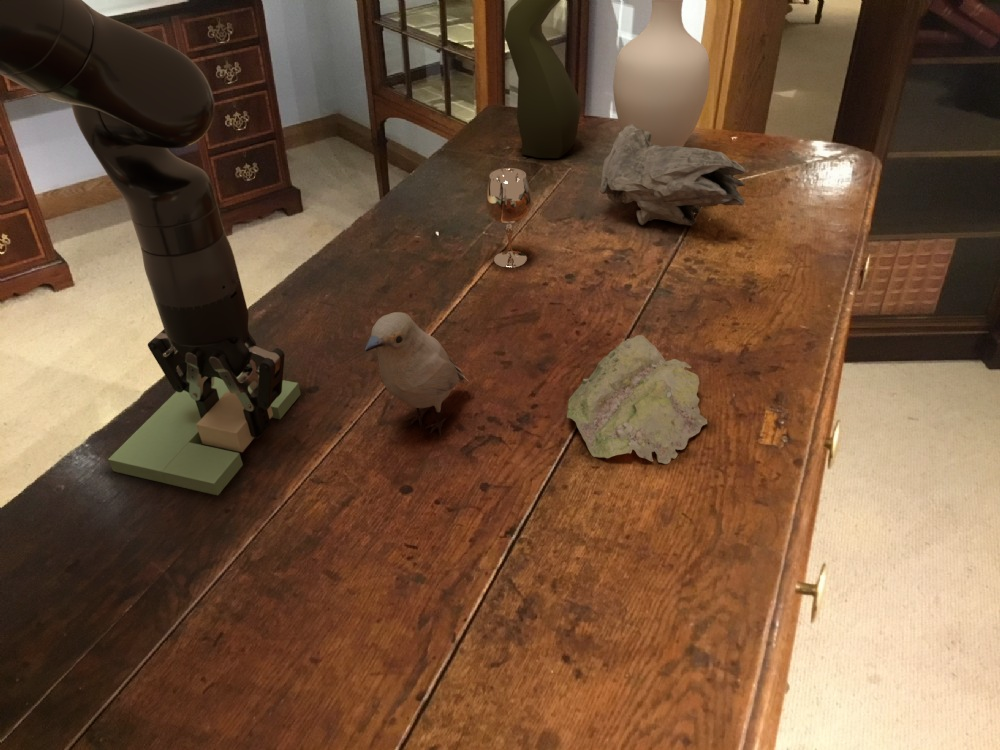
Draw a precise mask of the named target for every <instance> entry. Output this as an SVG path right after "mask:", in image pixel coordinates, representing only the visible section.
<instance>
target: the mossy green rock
mask: <svg viewBox="0 0 1000 750" xmlns="http://www.w3.org/2000/svg"><path fill="white" fill-rule="evenodd" d="M685 368H687V369H692V366H691V365H690V364H688V363H687V362H685V361H681V360H679V359H676V358H673V359H670V360H666V359H665V358H664V356H663V355H662V353H661V352H660V351H659V350H658V348H657V347H656V346H655V345H654V344H653V343H652V342H650V341H649V340H648V338H647V337H645V335H643V334H638V335H635V336H633V337H630V338H626V340H624V341H622V342H620V343H619V344H618V345H617V346H616V347H615V348H614V349H613V350H611V351H609V352H608V354H607V355H605V356H603V358H602V359H601V360H600V361H598V362H597V365H596V367H595V369H594V371H593V372H592V373H591V374H590V376H589V377H587V378H583V379H582V383H580V385H579V386H578V388H576V389H575V391H574V392H573V393H572V395H571V396H570V397H569V399H568V403H567V410H566V411H567V412H566V419H571V420H572V421H574V422H575V425H576V428H577V429H578V432H579V433H580V435H581V437H582V440H583V441H584V442H585V445H586V447H587V449H588V451H589V453H590V455H591V456H592V457H594V458H605V459H610V458H612V457H615V456H619V455H625V454H632V451H634V452H635V453H636V455H637V456H638V457H639V458H640V459H641V458H642V459H646V460H648V461H650V462H654V459H653V453H654V452H655V454H656V459H657V462H658V463H661V464H664V465H668V464H670V462H671V461H672V459H676V458H677V457H678V455H679V453H678V452H677V451H679V450H680V451H682V450H684V449H685V448H686V447H687V445H688V441H689V439H691V438H693V437H694V436H696V435H698V434H699V433H700V432H701V429H702V427H703V426H705V425H707V424H708V419H707V418H705V416H704V415H702V414H700V413H701V410H700V408H699V403H700V400H701V399H700V398H699V397H698V395H697V394H698V391H699V385H700V379H699V375H698V374H697V373H694V372H692V371H689V370H687V369H685ZM676 450H677V451H676Z"/></svg>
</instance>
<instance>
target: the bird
mask: <svg viewBox="0 0 1000 750" xmlns="http://www.w3.org/2000/svg"><path fill="white" fill-rule="evenodd" d="M370 332H371V333H370V337H369V338H368V341H367V343H366V346H365V348H364V350H363V352H369V351H371V350H375V349H376V353H377V360H378V365H379V366H378V367H379V372H380V379H381V383H382V384H383V385H384V387H385V389H386V391H388V392H389V393H390V394H391V395H392V396H393V397H395V398H396V399H397V400H399V401H400V402H402V403H404V404H406V405H408V406H409V407H411V408H415V409H416V414H415V415H411V416H409V417H407V418H406V419H405V421H408V420H411V419H412V420H411V422H410V426H412V425H413V423H415V422H416V421H418V424H419V425H420V427H422V426H423V425H422V423H423V422H422V420H423V418H424V414H425V413H426V412H427V411H429V410H428V409H427V408H430V407H434V408H435V419H436V422H435V423H431V424H429V425H427V426H426V427H425V428H424V430H427V429H429V428H431V429H430V431H429V435H431V434H432V433H433V432H434V431H435V430H436V429H437V430H438V434H439V436H442V427H443V423H444V422H445V421H446V420H447V419H448V417H443V418H442V419H440V413H441V410H442V404H443V402H444V401H445V400H446V399H447V398H448V396H449V395H450V393H451V391H452V390H453V389H455V388H456V387H457V385H458V384H459V383H461V384H463V385H464V384H465V382H468V383H470V381H469V380H468V378H467V377H466V375H465V373H464V372H463V370H462V369H461V368H460V367H459V365H458V364H456V362H455V361H453V360H452V359H451V358H450V357H449V355H448V353H447V351H446V350H445V349H444V348H443V346H442V344H441V343H440V342H439V341H438V340H437V339H436V338H435V337H434V336H432V335H430V334H428V333H427V332H425V331H424V330H423V329H422V328H420V327H419V326H418V325H417V324H416V322H415V321H414V320H413V319H412V318H411V316H409V314H407V313H405V312H402V311H401V312H400V311H394V312H390V313H387V314H385V315H382V316H381V317H380V318H379V319H378V320H377V321H376V322H375V323H374V325H373V327H372V328H371V331H370ZM464 380H465V382H464ZM420 409H424V410H422V411H421V410H420Z"/></svg>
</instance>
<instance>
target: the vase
mask: <svg viewBox="0 0 1000 750" xmlns="http://www.w3.org/2000/svg"><path fill="white" fill-rule="evenodd" d="M683 2H684V0H651V13H650V18H649V21H648V22H647V25H646V27H645V28H644V29H643V30H642V31H641V32H640V33H639V34H638V35H637V36H635V37H634V38H632V39H630V40H629V41H628V42H627V43H626V44H625V45H623V46H622V47H621V49H620V51H619V53H618V55H617V57H616V61H615V66H614V72H613V85H612V87H613V88H612V89H613V100H614V106H615V111H616V112H615V113H616V117H617V120H618V124H619V126H620V129H621V131H623V130H624V128H625V127H626V126H629V125H634V127H636V128H637V129H642V130H644V131H646V132H650V134H651V141H650V143H651V144H653V145H658V146H661V147H668V146H677V147H684V146H685V144H686V143H687V141H688V139H689V138H690V137H691V135H692V134H693V132H694V130H695V129H696V127H697V126H698V123H699V121H700V119H701V116H702V113H703V110H704V108H705V105H706V101H707V97H708V94H709V87H710V74H711V73H710V72H711V71H710V69H711V68H710V65H711V64H710V57H709V53H708V51H707V48H706V47H705V46H704V45H703V44H702V43H701V42H700V41H698V40H697V38H694V36H692V35H691V34H690V33H689V32H688V30H687V29H686V28H685V26H684V23H683V16H682V13H683V12H682V10H683Z"/></svg>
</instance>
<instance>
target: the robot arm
mask: <svg viewBox="0 0 1000 750" xmlns="http://www.w3.org/2000/svg"><path fill="white" fill-rule="evenodd" d="M0 75H1V76H2V77H4V78H6V79H8V80H11V81H12V82H14V83H16V84H18V85H20V86H21V87H22V88H25V89H27V90H29V91H31V92H33V93H35V94H37V95H39V96H41V97H44V98H45V99H46V98H47V99H48V100H52V101H55V102H59V103H62V104H63V103H64V104H69V105H71V109H72V113H73V116H74V119H75V122H76V124H77V126H78V129H79V130H80V133H81V134H82V136H83V138H84V139H85V141H86V143H87V144H88V146H89V148H90V150H91V151H92V152H93V154H94V156H95V158H96V159H97V160H98V163H99V164H100V165H101V166H102V169H103V171H105V173H106V175H107V176H108V179H109V180H110V182H111V183H112V184H113V185H114V187H115V188H116V190H117V191H118V193H120V195H121V197H122V198H123V200H124V202H125V203H126V206H127V209H128V212H129V215H130V218H131V222H132V224H133V227H134V232H135V234H136V237H137V239H138V243H139V246H140V250H141V255H142V256H141V257H142V262H143V263H142V264H143V268H144V272H145V275H146V278H147V281H148V284H149V287H150V291H151V293H152V296H153V299H154V303H155V306H156V308H157V312H158V314H159V317H160V320H161V324H162V327H163V329H162V330H161V331H160V332H159V333H157V335H155V336H154V337H153V338H152V339H151V340H150V341H148V343H147V348H148V350H149V351H150V352H151V355H152V356H153V358H154V359H155V360H156V362H157V364H158V365H159V367H160V369H161V371H162V372H163V374H164V375H165V377H166V379H167V380H168V382H169V384H170V385H171V387H172V389H173V391H175V392H176V391H177V392H182V391H183V390H184V391H186V392H188V393H189V395H190V397H191V398H192V399H194V400H195V401H196V404H197V408H198V411H199V414H200V417H201V419H202V418H203V417H204V415H205V414H206V413H207V412H208V411H209V410H210V409H211V408H212V407H213V406H214V405H215V404H216V403H217V402H218V401H219V400H220V399H219V396H218V393H217V389H215V388H212V386H213V385H214V377H217V378H219V379H222V380H223V381H224V383H225V385H226V386H227V388H228V390H229V391H230V393H235V394H236V395H237V397H238V398H239V400H240V402H241V403H242V405H243V407H244V409H243V412H244V416H245V419H246V421H247V423H248V427H249V431H250V434H251V436H252V437H255V438H256V439H259V438H260V437H261V436H262V435H263V434H264V433H265V432H266V430H267V429H268V427H270V426H271V418H269V414H268V411H267V409H268V408H269V407H270V406H271V404H272V403H273V402H274V400H275V399H276V398H277V397H278V396H279V395H280V394H281V392H282V381H283V380H284V369H285V367H284V366H285V352H284V350H282V349H281V348H279V347H275V348H273V349H272V350H271V351H268V350H266V349H264V348H261V347H259V346H257V342H256V341H255V339H254V338H253V336H252V335H251V334H250V331H249V319H250V318H249V316H250V315H249V310H248V306H247V302H246V298H245V294H244V290H243V286H242V281H241V278H240V274H239V269H238V266H237V262H236V259H235V255H234V252H233V248H232V246H231V243H230V241H229V238H228V236H227V233H226V230H225V227H224V224H223V220H222V215H221V211H220V208H219V204H218V199H217V196H216V192H215V189H214V186H213V182H212V180H211V178H210V176H209V174H208V173H207V172H206V171H205V170H204V169H202V168H201V167H200V166H198V165H196V164H193V163H191V162H189V161H186V160H184V159H182V158H180V157H178V156H176V154H174V153H172V151H170V149H183V148H186V147H189V146H191V145H194V144H196V143H197V142H199V141H200V140H201V139H203V137H205V136H206V135H207V133H208V132H209V130H210V129H211V126H212V124H213V122H214V117H215V111H216V109H215V105H216V104H215V98H214V93H213V91H212V88H211V85H210V83H209V81H208V79H207V77H206V76H205V74H204V73H203V71H202V70H201V69H200V68H199V66H198V65H197V64H196V63H195V62H194V61H193V60H192V59H191V58H190V57H188V56H187V55H185V54H184V53H183V52H182V51H180V50H178V49H177V48H175V47H174V46H172V45H170V44H168V43H166V42H164V41H162V40H160V39H158V38H156V37H153V36H151V35H149V34H147V33H146V32H143V31H141V30H139V29H137V28H134V27H133V26H130V25H129V24H126V23H123V22H121V21H119V20H116V19H113V18H111V17H109V16H107V15H105V14H102V13H100V12H98V11H97V10H95V9H93V7H91V6H90V5H89V4H88V3H86V2H85V1H83V0H0ZM178 367H179V370H180V372H181V373H182V374H181V375H180V374H179V372H178V371H177V370H178V369H177V368H178ZM241 373H242V375H241V376H240V377H239V378H238V379H237V378H236V377H238V376H239V375H240V374H241ZM248 386H249V387H250V388H251V390H252V393H251V394H250V393H249V391H248ZM255 438H254V439H255Z"/></svg>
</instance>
